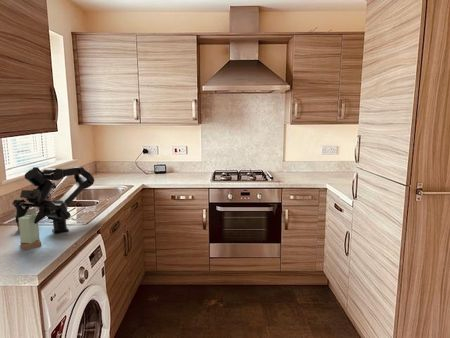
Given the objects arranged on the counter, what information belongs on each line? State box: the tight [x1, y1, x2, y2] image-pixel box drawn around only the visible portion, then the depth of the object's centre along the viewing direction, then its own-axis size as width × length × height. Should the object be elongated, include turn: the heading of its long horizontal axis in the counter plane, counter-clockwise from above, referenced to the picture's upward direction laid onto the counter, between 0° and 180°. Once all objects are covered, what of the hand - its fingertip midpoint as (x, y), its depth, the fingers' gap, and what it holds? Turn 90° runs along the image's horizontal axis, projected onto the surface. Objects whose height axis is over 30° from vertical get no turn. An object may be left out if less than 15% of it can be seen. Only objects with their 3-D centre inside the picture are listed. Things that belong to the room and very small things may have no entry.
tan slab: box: [19, 239, 42, 251], centre depth 141 cm, size 7×7×2 cm
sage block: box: [18, 214, 41, 244], centre depth 140 cm, size 5×5×11 cm
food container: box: [13, 207, 38, 231], centre depth 164 cm, size 12×6×10 cm, turn 170°
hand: (25, 222), depth 138 cm, fingers open, 9 cm apart
